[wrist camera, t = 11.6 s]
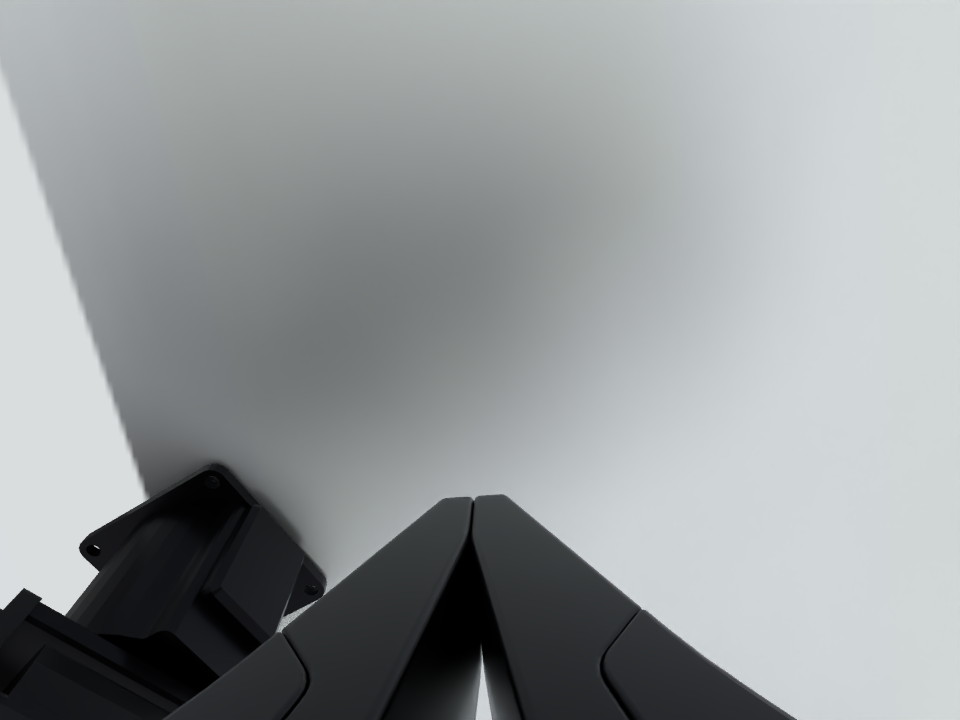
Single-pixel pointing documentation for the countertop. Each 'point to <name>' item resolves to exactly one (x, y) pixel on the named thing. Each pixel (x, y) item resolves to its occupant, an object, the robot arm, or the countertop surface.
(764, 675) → the countertop surface
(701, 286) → the countertop surface
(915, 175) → the countertop surface
